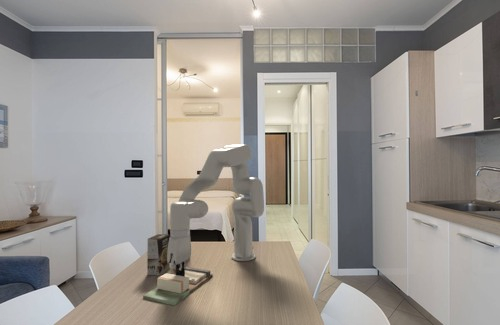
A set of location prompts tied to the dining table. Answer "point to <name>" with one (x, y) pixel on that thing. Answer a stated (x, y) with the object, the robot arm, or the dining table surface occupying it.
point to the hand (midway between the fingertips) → (180, 278)
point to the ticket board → (173, 298)
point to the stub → (173, 283)
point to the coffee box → (157, 254)
